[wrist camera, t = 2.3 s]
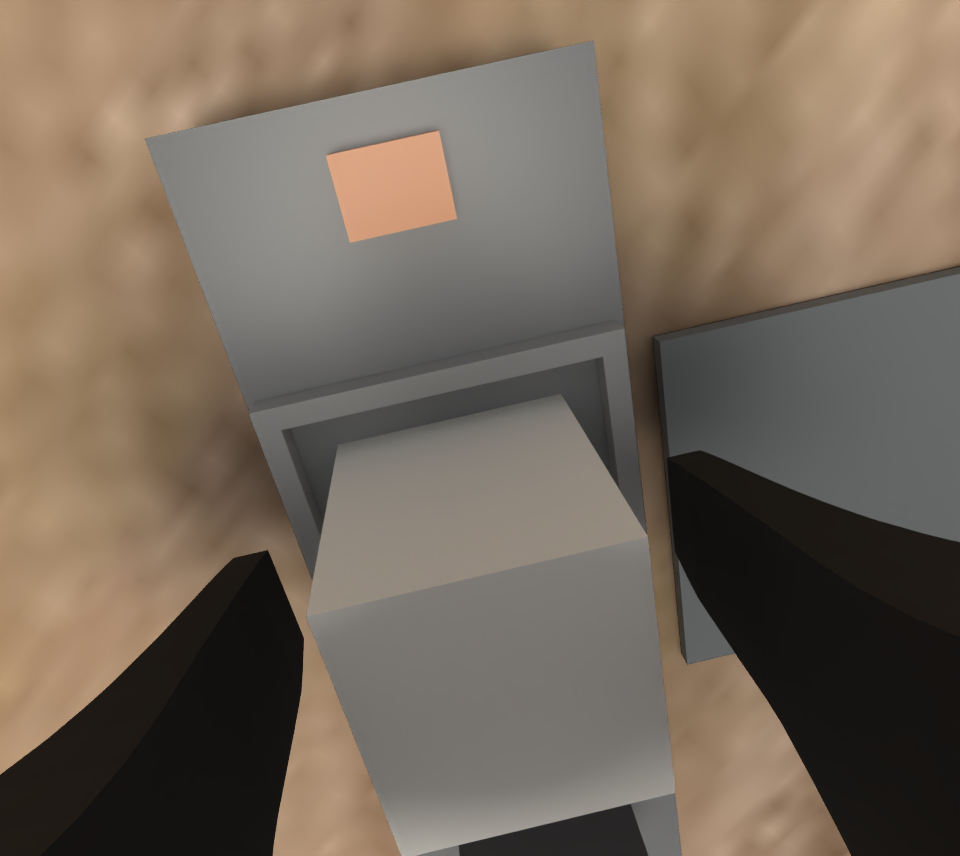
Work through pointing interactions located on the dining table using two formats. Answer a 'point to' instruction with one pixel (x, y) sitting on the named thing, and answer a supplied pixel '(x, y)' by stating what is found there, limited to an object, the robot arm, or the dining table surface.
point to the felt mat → (824, 409)
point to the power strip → (421, 293)
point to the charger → (491, 626)
